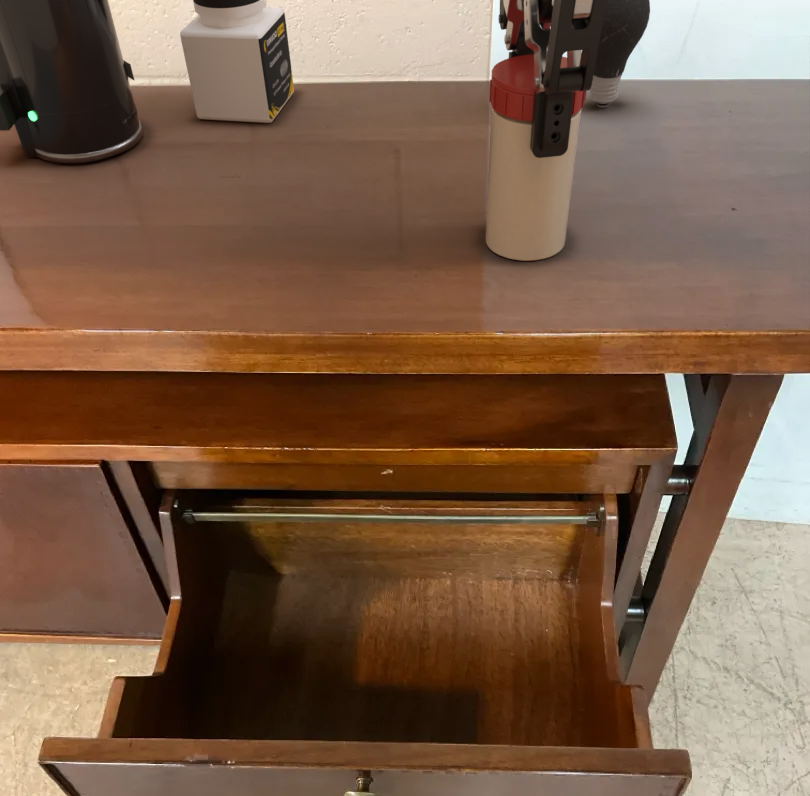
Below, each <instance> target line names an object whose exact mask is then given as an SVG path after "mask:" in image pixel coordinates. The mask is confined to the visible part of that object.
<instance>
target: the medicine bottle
mask: <svg viewBox="0 0 810 796" xmlns="http://www.w3.org/2000/svg"><path fill="white" fill-rule="evenodd" d="M192 3H193V8H194V11H195V13H196V14H197V16H195V18H193V19H192V20H191V21H190V22H189V23H188V24H187V25H186V26H185V27H184V28H183V29H182V30H180V32H179V36H180V42H181V46H182V50H183V55H184V61H185V65H186V70H187V75H188V80H189V85H190V90H191V93H192V99H193V103H194V107H195V108H194V109H195V113H196V117H197V118H198V119H199V120H210V121H225V122H226V121H227V122H229V121H230V122H246V123H264V124H271V123H272V122H273V121H274V120H275V119H276V117H277V116H278V114H279V113H280V111H282V109H283V107H284V106H285V105H286V103H287V102H289V99H290V98H291V97H292V95H293V94H294V92H295V87H294V79H293V70H292V62H291V53H290V46H289V36H288V29H287V21H286V13H285V9H284V8H283V7H282V6H267V0H192Z"/></svg>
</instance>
